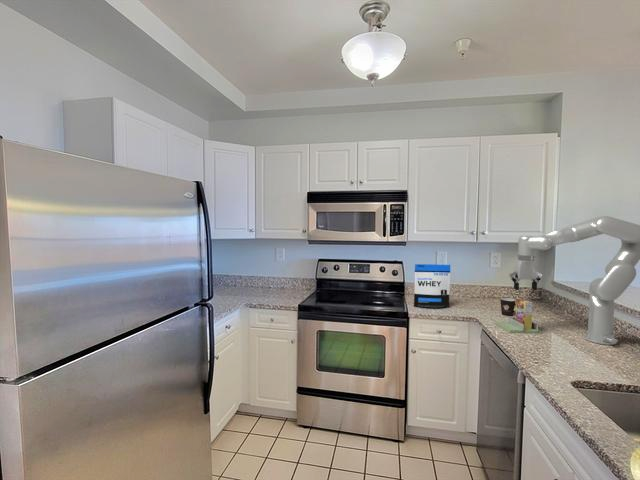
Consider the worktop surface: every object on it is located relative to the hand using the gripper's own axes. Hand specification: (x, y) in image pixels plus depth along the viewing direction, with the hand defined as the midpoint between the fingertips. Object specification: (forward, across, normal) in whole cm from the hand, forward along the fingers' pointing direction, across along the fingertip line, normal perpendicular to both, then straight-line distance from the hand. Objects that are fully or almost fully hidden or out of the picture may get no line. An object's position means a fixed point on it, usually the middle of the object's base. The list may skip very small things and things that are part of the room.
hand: (525, 289), depth 182 cm
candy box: (+21, +1, 0) cm, 21 cm away
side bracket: (+21, +1, -1) cm, 21 cm away
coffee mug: (+23, -8, -29) cm, 38 cm away
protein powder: (+22, +36, -47) cm, 63 cm away
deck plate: (+22, +3, -2) cm, 23 cm away
